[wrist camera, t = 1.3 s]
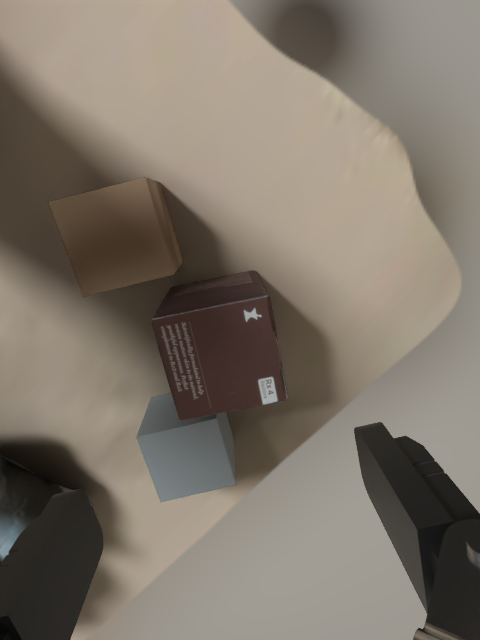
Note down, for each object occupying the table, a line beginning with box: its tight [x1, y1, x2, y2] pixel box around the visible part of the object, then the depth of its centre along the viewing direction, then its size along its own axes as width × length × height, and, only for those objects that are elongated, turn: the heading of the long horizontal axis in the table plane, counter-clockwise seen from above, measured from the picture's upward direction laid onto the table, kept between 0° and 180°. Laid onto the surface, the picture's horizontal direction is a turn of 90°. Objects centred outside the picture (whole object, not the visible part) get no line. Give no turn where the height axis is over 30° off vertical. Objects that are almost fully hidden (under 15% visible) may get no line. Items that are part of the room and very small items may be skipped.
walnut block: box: [48, 177, 183, 297], centre depth 22 cm, size 5×5×5 cm
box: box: [152, 271, 288, 421], centre depth 23 cm, size 6×6×7 cm
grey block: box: [136, 393, 236, 502], centre depth 26 cm, size 5×5×5 cm
